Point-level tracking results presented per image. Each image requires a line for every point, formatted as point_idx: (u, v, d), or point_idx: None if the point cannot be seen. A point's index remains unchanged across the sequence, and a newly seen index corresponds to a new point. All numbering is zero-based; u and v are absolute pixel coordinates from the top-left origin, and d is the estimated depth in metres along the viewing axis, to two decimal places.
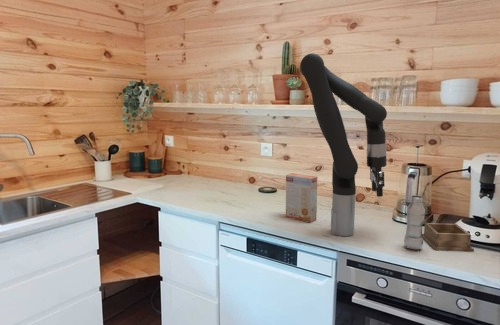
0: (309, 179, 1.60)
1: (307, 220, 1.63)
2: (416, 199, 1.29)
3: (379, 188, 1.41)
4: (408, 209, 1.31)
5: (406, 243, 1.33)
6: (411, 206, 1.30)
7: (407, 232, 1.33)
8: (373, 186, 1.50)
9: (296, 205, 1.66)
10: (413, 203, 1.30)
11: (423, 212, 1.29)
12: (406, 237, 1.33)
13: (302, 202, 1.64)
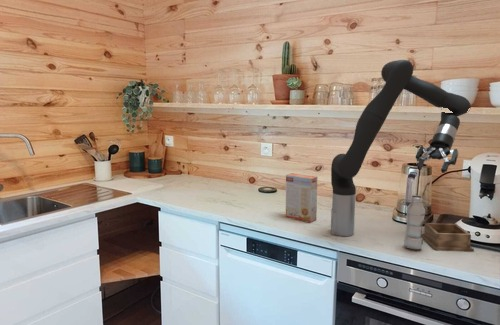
0: (309, 179, 1.60)
1: (307, 220, 1.63)
2: (416, 199, 1.29)
3: (448, 164, 1.34)
4: (408, 209, 1.31)
5: (406, 243, 1.33)
6: (411, 206, 1.30)
7: (407, 232, 1.33)
8: (421, 163, 1.40)
9: (296, 205, 1.66)
10: (413, 203, 1.30)
11: (423, 212, 1.29)
12: (406, 237, 1.33)
13: (302, 202, 1.64)
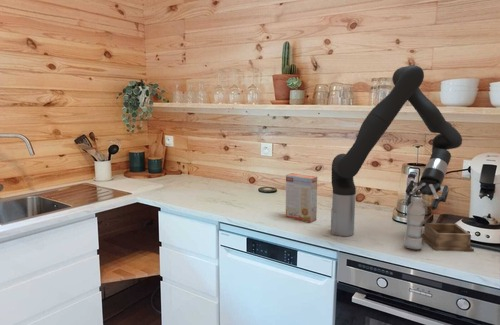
0: (309, 179, 1.60)
1: (307, 220, 1.63)
2: (416, 199, 1.29)
3: (438, 201, 1.32)
4: (408, 209, 1.31)
5: (406, 243, 1.33)
6: (411, 206, 1.30)
7: (407, 232, 1.33)
8: None
9: (296, 205, 1.66)
10: (413, 203, 1.30)
11: (423, 212, 1.29)
12: (406, 237, 1.33)
13: (302, 202, 1.64)
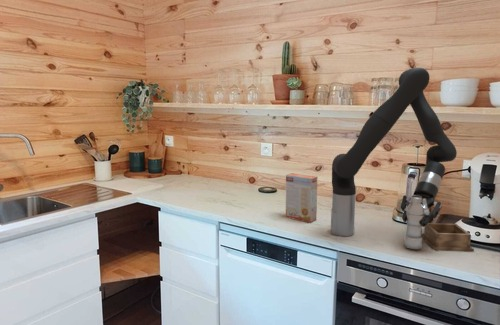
0: (309, 179, 1.60)
1: (307, 220, 1.63)
2: (416, 199, 1.29)
3: (428, 217, 1.29)
4: (408, 209, 1.31)
5: (406, 243, 1.33)
6: (411, 206, 1.30)
7: (407, 232, 1.33)
8: (406, 215, 1.34)
9: (296, 205, 1.66)
10: (413, 203, 1.30)
11: (423, 212, 1.29)
12: (406, 237, 1.33)
13: (302, 202, 1.64)
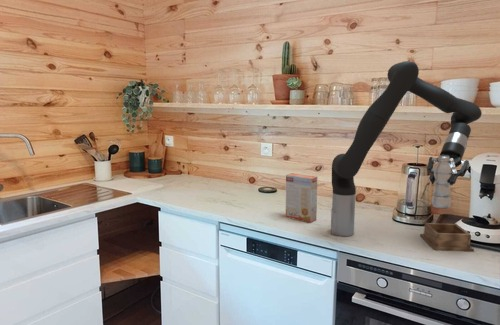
0: (309, 179, 1.60)
1: (307, 220, 1.63)
2: (443, 158, 1.30)
3: (456, 176, 1.30)
4: (435, 168, 1.32)
5: (434, 203, 1.33)
6: (439, 165, 1.31)
7: (435, 192, 1.33)
8: None
9: (296, 205, 1.66)
10: (440, 162, 1.31)
11: (451, 170, 1.29)
12: (434, 197, 1.34)
13: (302, 202, 1.64)
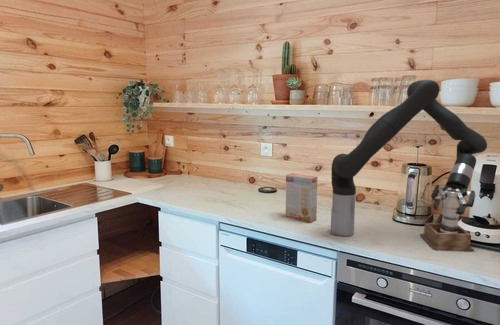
0: (309, 179, 1.60)
1: (307, 220, 1.63)
2: (452, 193, 1.33)
3: (465, 206, 1.32)
4: (444, 203, 1.35)
5: None
6: (447, 200, 1.34)
7: (443, 225, 1.37)
8: (437, 204, 1.38)
9: (296, 205, 1.66)
10: (449, 197, 1.34)
11: (459, 206, 1.33)
12: (441, 230, 1.37)
13: (302, 202, 1.64)
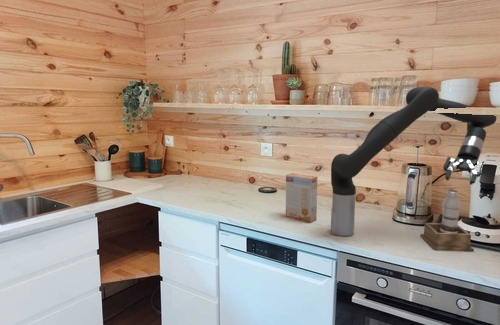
0: (309, 179, 1.60)
1: (307, 220, 1.63)
2: (452, 193, 1.33)
3: (476, 176, 1.40)
4: (444, 203, 1.35)
5: None
6: (447, 200, 1.34)
7: (443, 225, 1.37)
8: (449, 174, 1.46)
9: (296, 205, 1.66)
10: (449, 197, 1.34)
11: (459, 206, 1.33)
12: (441, 230, 1.37)
13: (302, 202, 1.64)
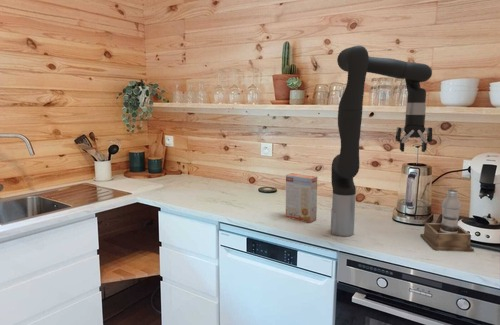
0: (309, 179, 1.60)
1: (307, 220, 1.63)
2: (452, 193, 1.33)
3: None
4: (444, 203, 1.35)
5: None
6: (447, 200, 1.34)
7: (443, 225, 1.37)
8: None
9: (296, 205, 1.66)
10: (449, 197, 1.34)
11: (459, 206, 1.33)
12: (441, 230, 1.37)
13: (302, 202, 1.64)
